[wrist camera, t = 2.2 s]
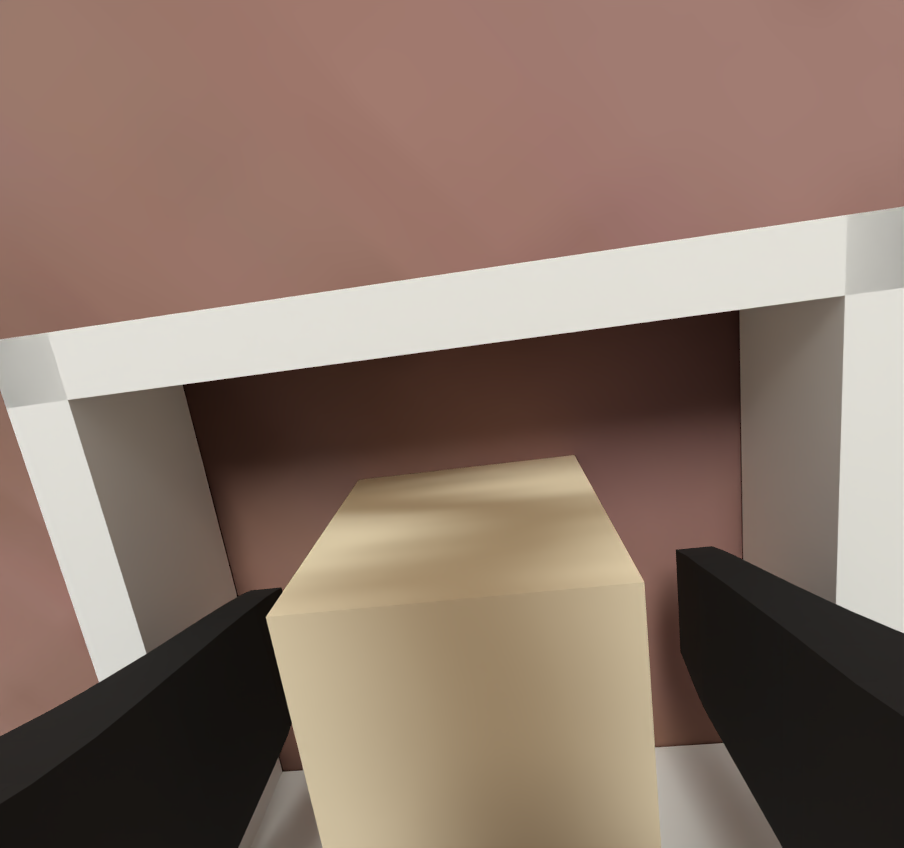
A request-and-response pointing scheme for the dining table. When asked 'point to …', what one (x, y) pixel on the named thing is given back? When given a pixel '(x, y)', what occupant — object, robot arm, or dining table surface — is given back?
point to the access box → (473, 323)
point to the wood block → (472, 666)
